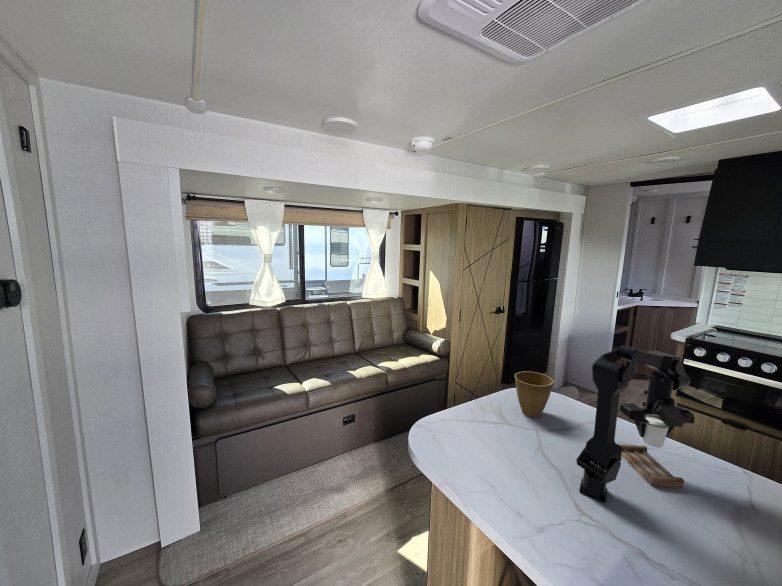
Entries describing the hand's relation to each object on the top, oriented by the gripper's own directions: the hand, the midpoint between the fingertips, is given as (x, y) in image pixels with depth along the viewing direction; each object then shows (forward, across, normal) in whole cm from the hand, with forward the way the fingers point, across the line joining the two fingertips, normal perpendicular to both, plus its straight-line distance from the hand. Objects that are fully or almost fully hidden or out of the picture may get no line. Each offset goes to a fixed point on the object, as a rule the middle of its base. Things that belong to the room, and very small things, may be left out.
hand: (652, 437), depth 100 cm
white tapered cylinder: (+2, 0, 0) cm, 2 cm away
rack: (+11, 0, 0) cm, 11 cm away
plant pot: (+11, -26, +32) cm, 42 cm away
